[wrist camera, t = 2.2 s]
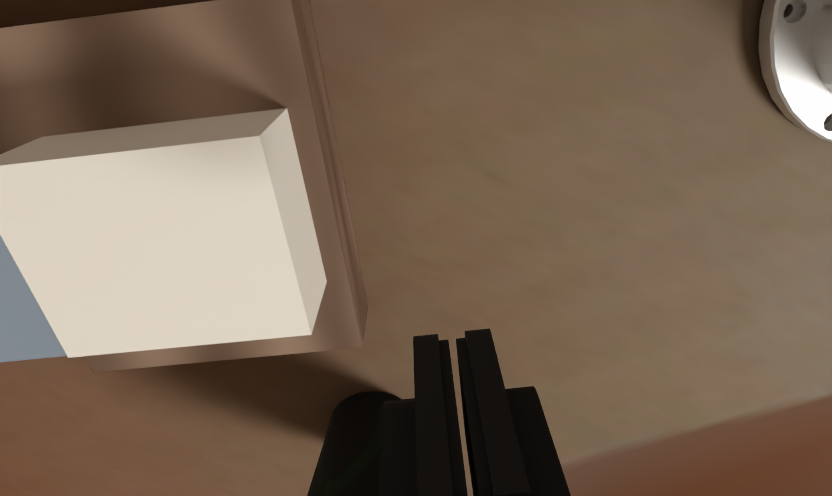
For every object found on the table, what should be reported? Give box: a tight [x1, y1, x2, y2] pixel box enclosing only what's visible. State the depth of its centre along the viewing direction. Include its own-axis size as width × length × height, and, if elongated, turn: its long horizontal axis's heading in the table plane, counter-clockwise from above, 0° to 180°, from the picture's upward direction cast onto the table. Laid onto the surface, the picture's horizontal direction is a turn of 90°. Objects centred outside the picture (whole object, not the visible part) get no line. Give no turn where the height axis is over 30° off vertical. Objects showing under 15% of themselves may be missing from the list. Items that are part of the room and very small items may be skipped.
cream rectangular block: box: [0, 108, 327, 358], centre depth 20 cm, size 10×8×4 cm
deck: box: [0, 0, 368, 372], centre depth 24 cm, size 14×16×4 cm
